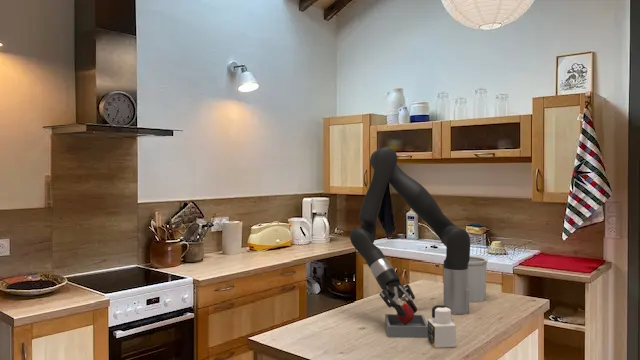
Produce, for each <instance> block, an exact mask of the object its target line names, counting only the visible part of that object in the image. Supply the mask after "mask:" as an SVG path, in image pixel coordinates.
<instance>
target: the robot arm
mask: <svg viewBox="0 0 640 360" xmlns="http://www.w3.org/2000/svg"><path fill="white" fill-rule="evenodd" d="M369 161H370V165H371V168H372V169H373V174H372V179H371V182H370V185H369V187H368V189H367V191H366V193H365V196H364V198H363V200H362V203H361V207H360V211H359V213H358V220H359V221H360V227H355V228H354V229H352V230H351V231H350V234H349V239H350V243H351V245H352V246H353V247H354V249H355V250H356V251H357V253H358V254H359V255H361V257H362V258H363V259H364V261H365V263H366V264H367V266H368V267H369V269H370V271H371V274H372V276H373V278H374V279H375V280H376V282H377V284H378V286H379V287H380V288H381V290H382V291H381V292H380V293H379V296H380V298H381V300H383V301H384V303H385V304H386V305H387V307H388V308H393V309H395V311H396V314H397V313H398V315H399V316H400V317H403V316H404V315H405V312H404V310H403V308H402V307H401V306H402V304H400V303H399V300H400V301H403V303H404V302H406V303H407V304H408V305H409V306H410V307H411V308H412V309H413V311H414V314H416V313H417V312H418V307H417V306H416V305H415V304H416V303H414V300H415V299H416V296H415V294H414V292H413V291H412V288H411V286H410V285H409V284H405V285H403V284H402V283H401V282H400V281H401V280H400V277H399V275H398V273H397V272H396V271H395V268H394V267H393V266H392V264H391V263H390V261H389V260H388V259H387V258H386V256H385V255H384V253H383V251H382V250H381V249H380V248H379V247H378V246H376V245H375V244H374V243H375V240H376V236H377V235H376V234H377V220H378V216H379V214H380V210H381V206H382V202H383V199H384V195H385V193H386V189H387V186H388V185H389V184H390V185H391V187H392V189H394V191H395V192H396V193H397V194H398V195H399V196H400V198H402V199H403V201H404V202H405V203H406V204H407V206H408V207H409V208H411V210H412V211H413V212H415V214H416V215H417V216H418V217H419V218H420V219H421V220H422V221H424V222H425V223H426V224H427V225H428V226H429V227H430V228H431V229H432V231H433V232H434V233H435V234H436V236H437V237H438V238H439V240H440V241H441V242H442V244H443V245H444V246H445V247H446V250H445V252H446V254H445V259H444V260H443V302H442V303H443V306H447V307H449V308H450V309H451V315H465V314H469V313H470V302H469V289H468V263H469V260H470V255H471V238H470V235H469V233H468V232H467V230H465V229H463V228H461V227H459V226H457V225H455V224H454V222H452V221H451V220H450V219H449V218H448V217H447V216H446V215H445V214H444V212H443V211H442V209H441V208H440V206H439V204H438V202H437V200H435V198H434V196H433V195H432V194H431V193H430V192H429V191H428V190H427V189H426V188H425V187H424V186H423V185H422V184H421V183H419V182H418V181H417V180H416V179H414V178H412V177H411V176H409V175H408V174H407V173H405V172H404V171H403V170H402V169H401V167H399V165H398V155H397V152H396V151H395V149H393V148H392V147H388V146H386V147H385V146H384V147H381V148H379V149H376V150H375V151H373V152H372V154H371V156H370V159H369Z"/></svg>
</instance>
